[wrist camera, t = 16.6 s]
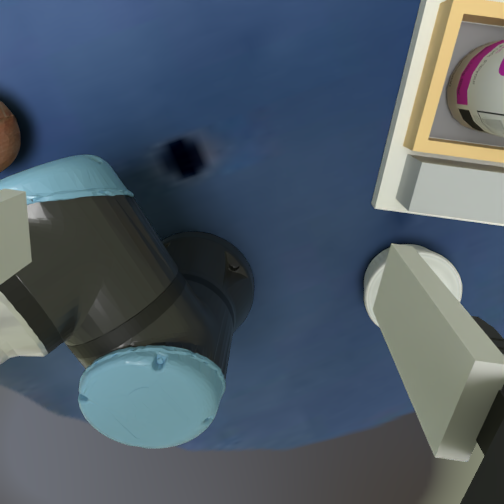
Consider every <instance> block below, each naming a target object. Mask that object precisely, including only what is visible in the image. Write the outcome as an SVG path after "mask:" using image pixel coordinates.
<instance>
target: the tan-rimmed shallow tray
mask: <svg viewBox="0 0 504 504" xmlns="http://www.w3.org/2000/svg"><path fill="white" fill-rule="evenodd" d="M500 40H504V0H421V2H420V6H419V11H418V15H417V19H416V23H415V27H414V31H413V35H412V39H411V43H410V47H409V51H408V55H407V60H406V64H405V68H404V72H403V76H402V80H401V84H400V88H399V92H398V96H397V100H396V105H395V109H394V113H393V117H392V121H391V125H390V129H389V133H388V137H387V141H386V145H385V150H384V154H383V158H382V162H381V166H380V170H379V174H378V178H377V182H376V186H375V190H374V195H373V199H372V203H371V204H372V205H373V207H374V208H375V209H382V210H389V211H396V212H404V213H411V214H419V215H426V216H433V217H441V218H448V219H456V220H463V221H471V222H478V223H485V224H493V225H500V226H504V137H501V136H496V135H492V134H488V133H484V132H480V131H476V130H473V129H470V128H467V127H464V126H462V125H461V124H460V123H459V122H458V121H457V120H456V119H455V118H454V117H453V116H452V113H451V111H450V109H449V107H448V102H447V88H448V85H449V81H450V78H451V74H452V73H453V71H454V70H455V68H456V67H457V65H458V64H459V62H460V61H461V60H462V59H463V58H464V57H465V56H466V55H467V54H469V53H470V52H471V51H472V50H473V49H475V48H478V47H480V46H482V45H485V44H487V43H489V42H495V41H500Z"/></svg>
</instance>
